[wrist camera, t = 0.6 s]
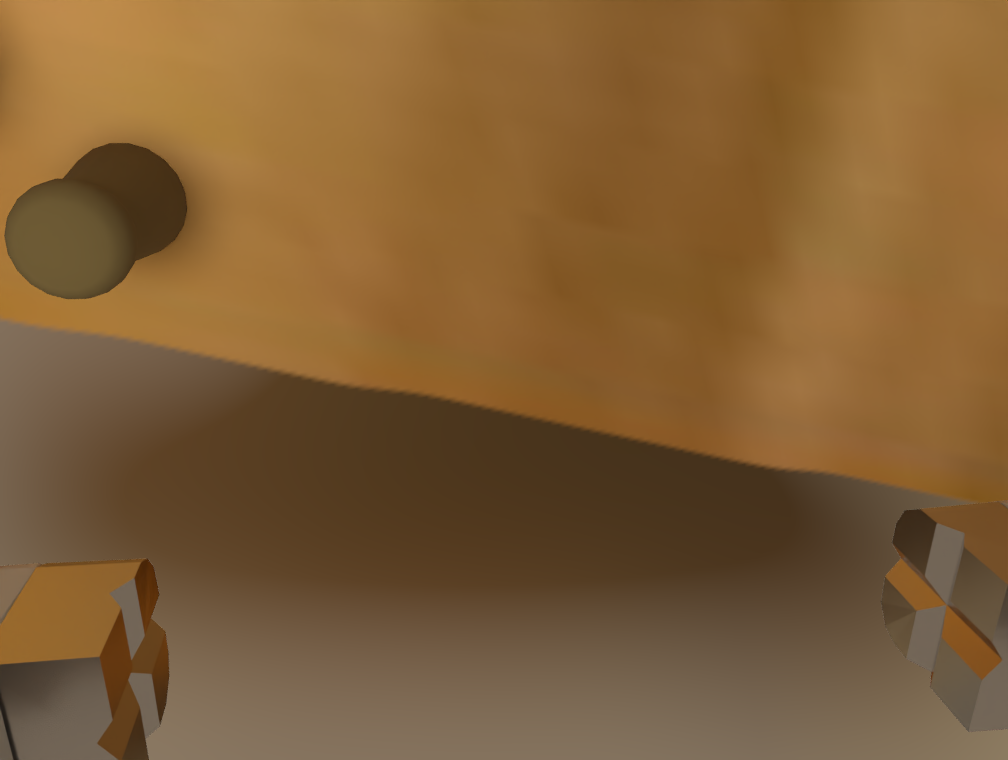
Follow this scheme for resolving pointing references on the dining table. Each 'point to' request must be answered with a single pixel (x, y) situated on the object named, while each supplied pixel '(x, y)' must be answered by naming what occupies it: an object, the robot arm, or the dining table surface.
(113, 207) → the cork
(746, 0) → the dining table surface
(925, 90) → the dining table surface
